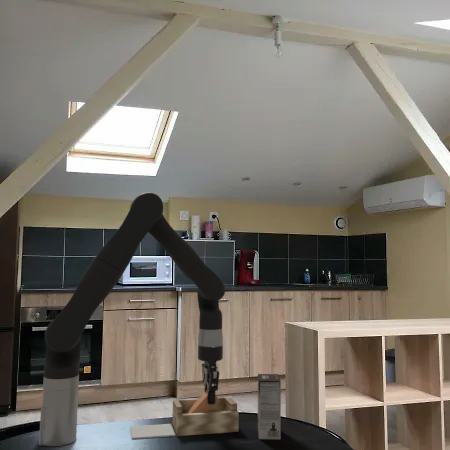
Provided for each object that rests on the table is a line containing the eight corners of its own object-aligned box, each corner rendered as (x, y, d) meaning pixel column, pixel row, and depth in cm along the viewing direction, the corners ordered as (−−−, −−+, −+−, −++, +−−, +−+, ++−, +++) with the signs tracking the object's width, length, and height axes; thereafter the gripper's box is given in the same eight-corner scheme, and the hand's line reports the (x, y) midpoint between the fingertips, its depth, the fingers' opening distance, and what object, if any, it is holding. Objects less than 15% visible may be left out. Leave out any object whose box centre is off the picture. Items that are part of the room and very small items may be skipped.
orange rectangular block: (190, 431, 136) (182, 422, 136) (188, 426, 140) (180, 418, 140) (219, 399, 139) (211, 391, 139) (216, 396, 143) (208, 388, 143)
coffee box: (257, 428, 139) (257, 373, 141) (278, 429, 139) (278, 373, 140) (258, 439, 130) (258, 380, 131) (281, 439, 130) (281, 380, 131)
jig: (177, 436, 132) (177, 408, 133) (172, 425, 141) (172, 399, 142) (238, 431, 136) (238, 404, 137) (229, 421, 146) (229, 396, 147)
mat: (132, 439, 129) (132, 437, 129) (130, 427, 138) (130, 426, 138) (175, 436, 132) (175, 434, 132) (170, 425, 141) (170, 423, 141)
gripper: (194, 340, 148) (193, 396, 146) (203, 347, 134) (202, 409, 133) (217, 340, 150) (216, 395, 148) (228, 347, 136) (227, 407, 134)
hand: (209, 401), depth 140 cm, fingers closed on orange rectangular block, 4 cm apart
